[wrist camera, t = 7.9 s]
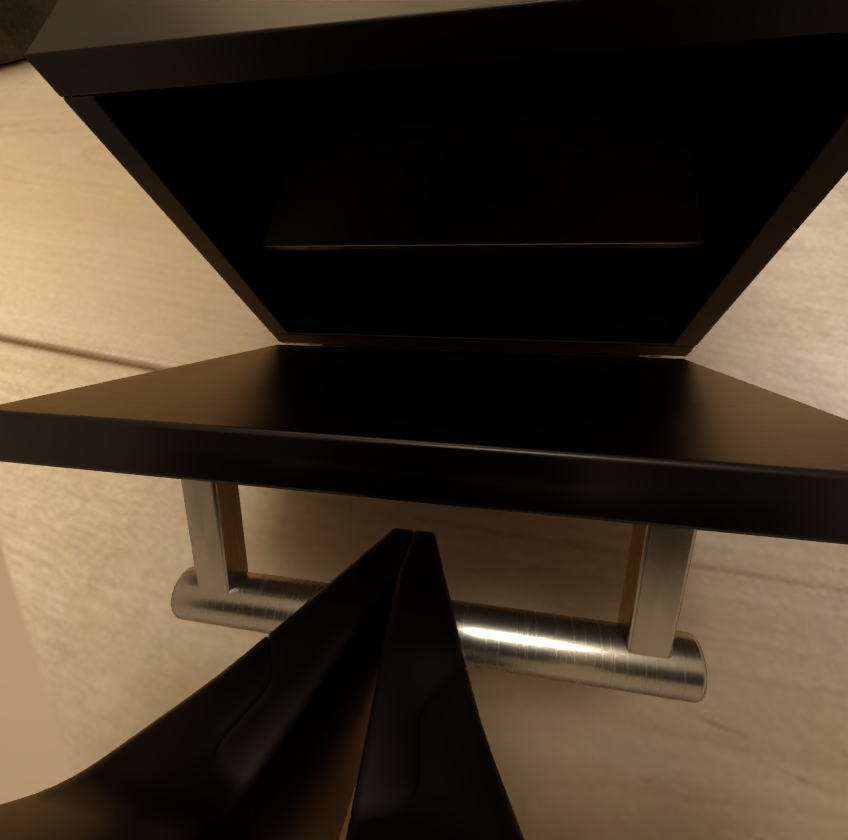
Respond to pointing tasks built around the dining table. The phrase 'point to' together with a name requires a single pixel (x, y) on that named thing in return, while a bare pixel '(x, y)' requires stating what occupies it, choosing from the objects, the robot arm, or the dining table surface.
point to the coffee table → (21, 25)
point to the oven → (470, 156)
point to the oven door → (467, 475)
